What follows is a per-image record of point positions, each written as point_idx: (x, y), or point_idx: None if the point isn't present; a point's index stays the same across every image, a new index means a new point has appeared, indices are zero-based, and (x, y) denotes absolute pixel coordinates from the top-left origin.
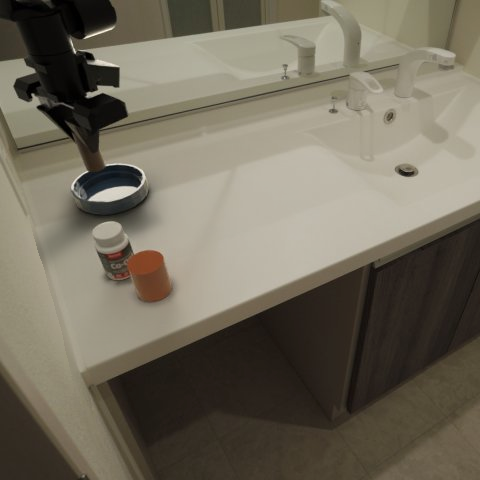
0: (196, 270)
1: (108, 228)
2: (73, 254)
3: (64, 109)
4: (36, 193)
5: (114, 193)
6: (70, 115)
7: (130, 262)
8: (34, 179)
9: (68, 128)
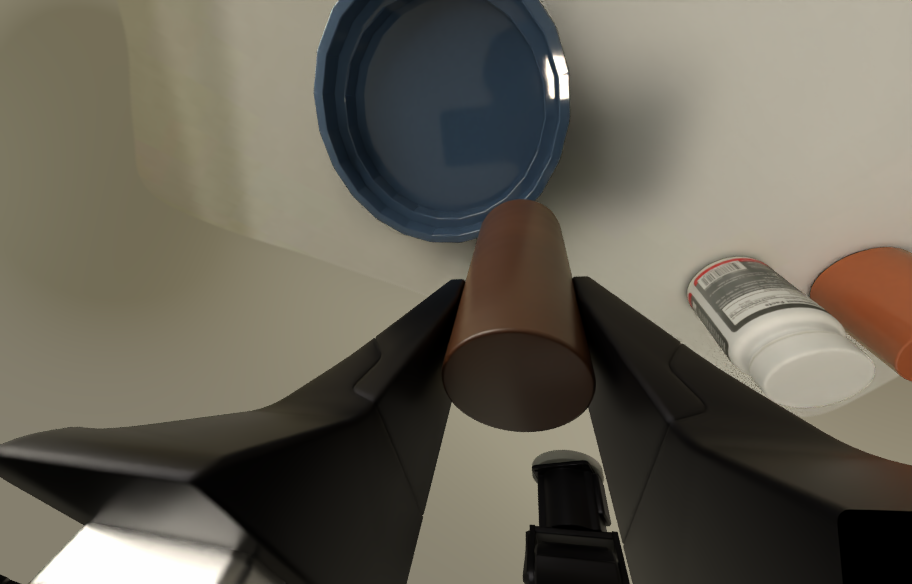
0: None
1: (819, 377)
2: None
3: (361, 550)
4: (312, 248)
5: (450, 117)
6: (389, 459)
7: (909, 368)
8: (248, 222)
9: (436, 415)
